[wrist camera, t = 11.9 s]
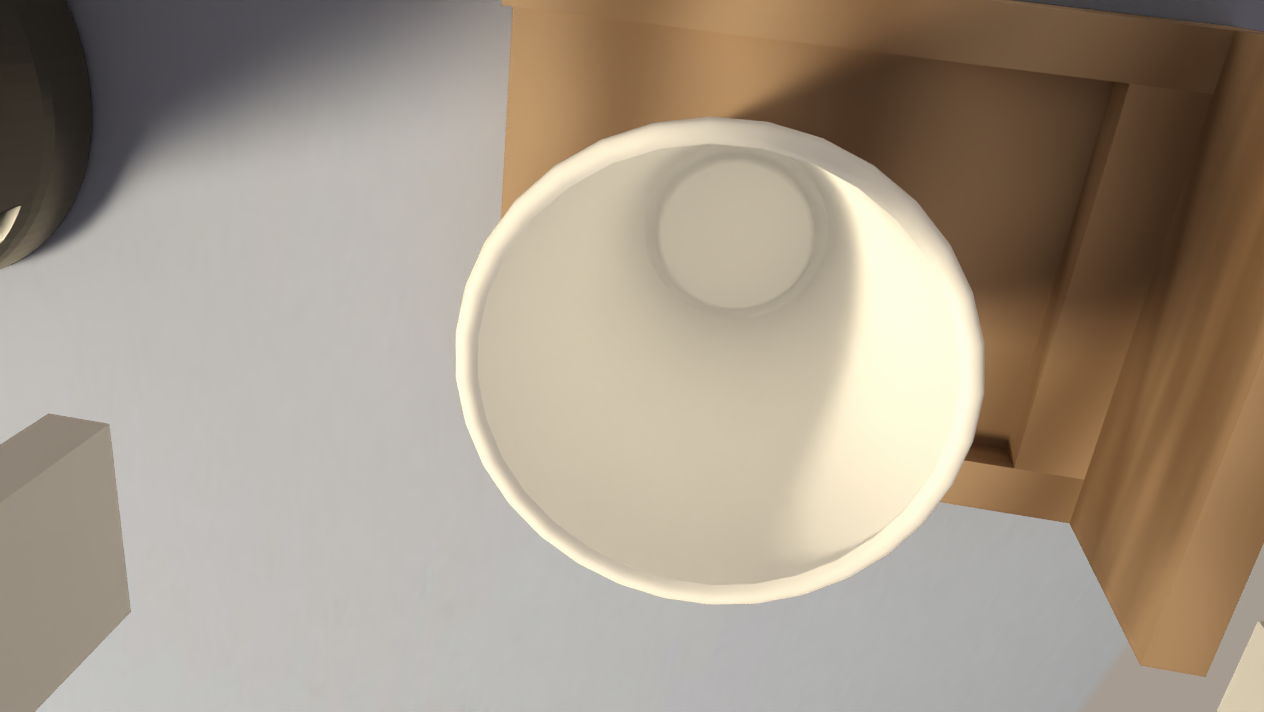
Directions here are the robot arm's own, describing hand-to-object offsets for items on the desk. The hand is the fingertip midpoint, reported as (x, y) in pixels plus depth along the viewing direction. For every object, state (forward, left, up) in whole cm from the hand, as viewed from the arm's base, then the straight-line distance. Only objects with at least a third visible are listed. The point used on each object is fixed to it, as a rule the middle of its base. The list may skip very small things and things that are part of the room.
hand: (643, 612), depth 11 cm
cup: (0, 0, -19) cm, 19 cm away
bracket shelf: (+2, 0, -21) cm, 21 cm away
